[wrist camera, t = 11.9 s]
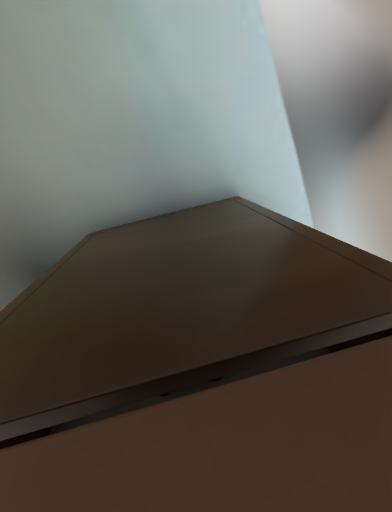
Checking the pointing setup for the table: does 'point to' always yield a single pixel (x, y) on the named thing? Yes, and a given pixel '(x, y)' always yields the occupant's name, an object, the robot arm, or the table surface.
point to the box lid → (227, 447)
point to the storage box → (180, 311)
